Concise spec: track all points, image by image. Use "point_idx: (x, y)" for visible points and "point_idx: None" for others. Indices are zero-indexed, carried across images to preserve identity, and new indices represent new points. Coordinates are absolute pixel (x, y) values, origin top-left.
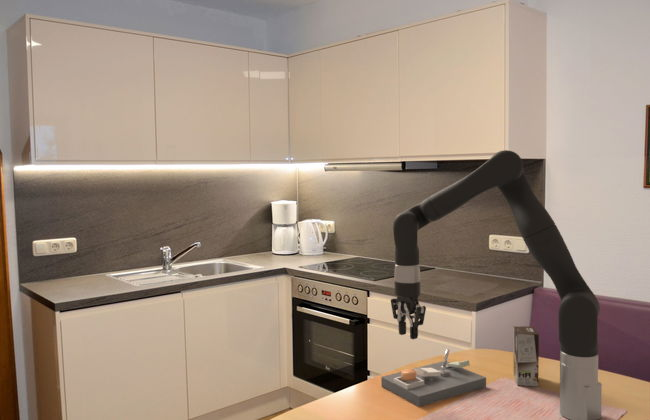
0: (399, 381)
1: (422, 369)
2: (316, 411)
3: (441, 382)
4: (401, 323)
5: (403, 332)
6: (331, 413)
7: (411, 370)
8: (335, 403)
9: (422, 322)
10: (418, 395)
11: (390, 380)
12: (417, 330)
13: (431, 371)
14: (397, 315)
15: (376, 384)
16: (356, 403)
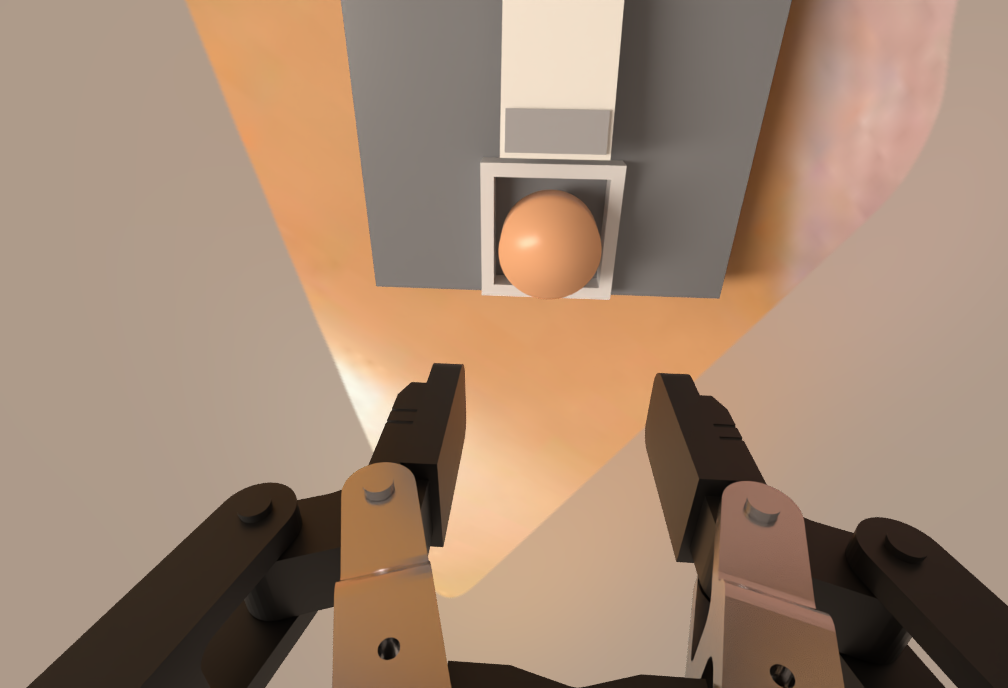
0: None
1: (554, 114)
2: (475, 557)
3: (674, 19)
4: (442, 521)
5: (462, 407)
6: (517, 536)
7: (546, 223)
8: None
9: (955, 585)
10: (706, 292)
11: (449, 280)
12: (748, 461)
13: (599, 49)
14: (303, 607)
15: (355, 269)
16: (496, 445)
